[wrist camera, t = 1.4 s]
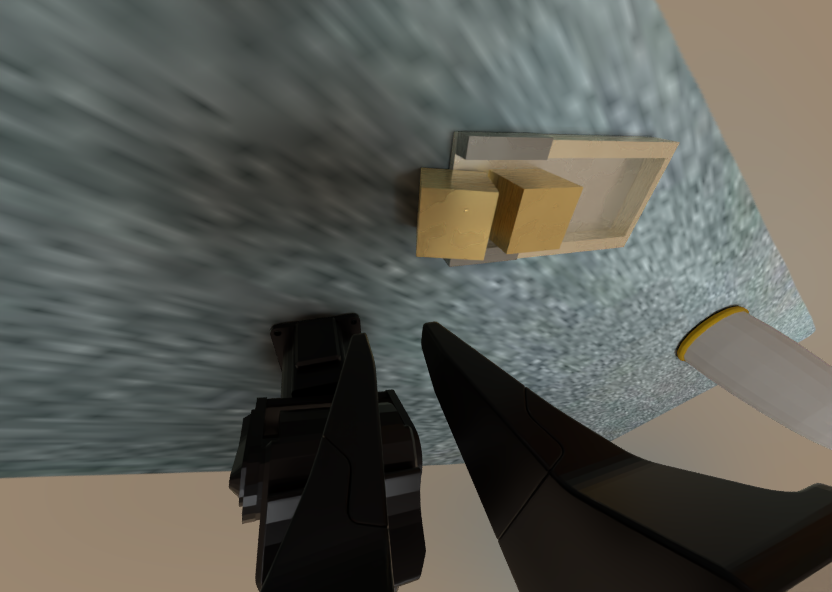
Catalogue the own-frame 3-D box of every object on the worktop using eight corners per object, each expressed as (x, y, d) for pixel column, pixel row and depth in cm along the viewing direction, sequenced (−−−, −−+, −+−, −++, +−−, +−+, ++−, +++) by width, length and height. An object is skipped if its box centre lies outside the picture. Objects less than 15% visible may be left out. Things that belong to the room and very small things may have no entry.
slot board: (438, 252, 23) (449, 266, 21) (454, 129, 18) (469, 136, 16) (604, 237, 27) (623, 247, 25) (653, 135, 22) (680, 140, 20)
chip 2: (524, 224, 23) (559, 249, 20) (477, 227, 22) (506, 254, 18) (541, 168, 20) (583, 187, 17) (488, 169, 19) (524, 189, 16)
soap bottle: (684, 364, 52) (920, 548, 32) (665, 347, 46) (947, 566, 26) (746, 318, 48) (1057, 495, 28) (736, 293, 42) (1130, 500, 22)
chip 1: (473, 231, 21) (483, 260, 18) (416, 228, 21) (416, 256, 18) (485, 172, 19) (499, 192, 15) (420, 167, 18) (421, 187, 15)
